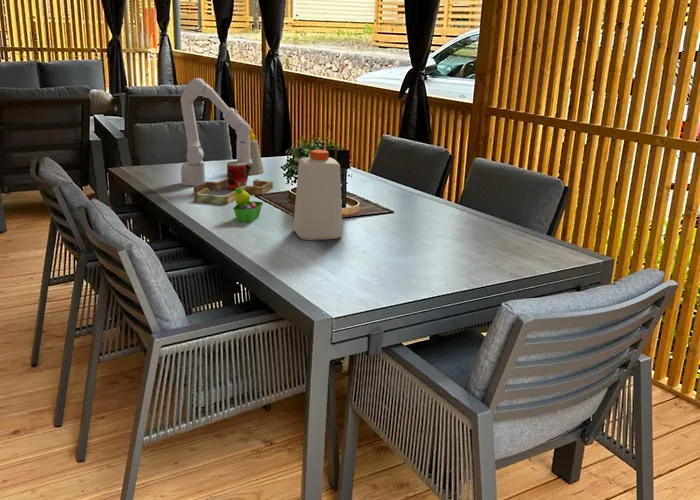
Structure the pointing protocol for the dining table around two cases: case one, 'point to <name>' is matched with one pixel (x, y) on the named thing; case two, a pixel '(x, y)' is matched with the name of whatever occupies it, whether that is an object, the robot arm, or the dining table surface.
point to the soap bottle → (255, 156)
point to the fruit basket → (246, 206)
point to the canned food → (236, 174)
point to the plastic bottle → (318, 198)
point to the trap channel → (203, 194)
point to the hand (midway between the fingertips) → (243, 182)
